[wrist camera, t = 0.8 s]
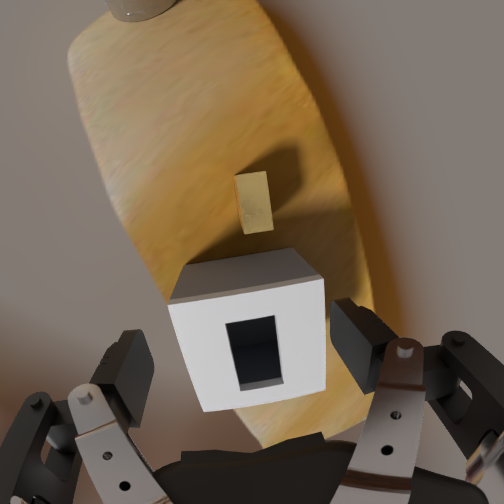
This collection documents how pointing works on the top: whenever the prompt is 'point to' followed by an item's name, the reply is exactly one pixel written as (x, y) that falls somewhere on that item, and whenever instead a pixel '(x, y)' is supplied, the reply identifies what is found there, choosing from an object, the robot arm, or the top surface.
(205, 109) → the top surface
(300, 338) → the coin box
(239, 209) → the tan rectangular block
